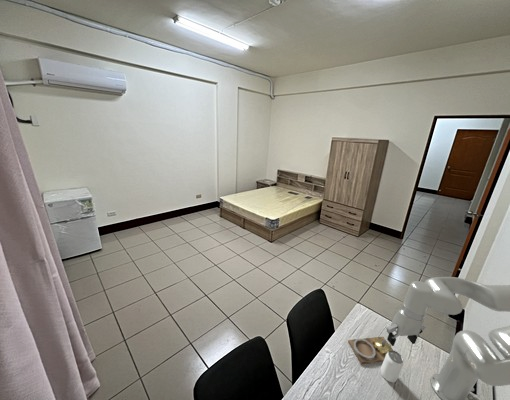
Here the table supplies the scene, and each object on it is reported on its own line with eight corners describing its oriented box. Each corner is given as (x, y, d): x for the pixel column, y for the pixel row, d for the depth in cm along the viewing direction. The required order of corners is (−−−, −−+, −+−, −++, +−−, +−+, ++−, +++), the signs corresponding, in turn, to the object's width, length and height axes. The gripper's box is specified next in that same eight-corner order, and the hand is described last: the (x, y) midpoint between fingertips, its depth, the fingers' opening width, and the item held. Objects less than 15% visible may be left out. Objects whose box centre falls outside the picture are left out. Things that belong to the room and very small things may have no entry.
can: (391, 368, 100) (399, 350, 96) (399, 384, 94) (407, 365, 90) (377, 366, 100) (384, 348, 96) (384, 381, 94) (391, 363, 90)
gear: (383, 338, 112) (385, 332, 111) (396, 355, 104) (398, 349, 102) (368, 340, 111) (370, 333, 109) (380, 357, 103) (382, 350, 101)
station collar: (366, 339, 111) (367, 337, 111) (379, 358, 102) (379, 356, 102) (349, 341, 109) (350, 339, 109) (361, 360, 100) (361, 358, 100)
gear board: (382, 338, 114) (383, 336, 113) (398, 359, 104) (399, 357, 103) (348, 342, 111) (348, 340, 110) (360, 364, 100) (361, 362, 100)
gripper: (423, 302, 89) (411, 332, 95) (386, 304, 87) (376, 335, 92) (440, 317, 82) (426, 348, 88) (401, 320, 80) (388, 352, 85)
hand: (400, 341), depth 90 cm, fingers open, 9 cm apart
